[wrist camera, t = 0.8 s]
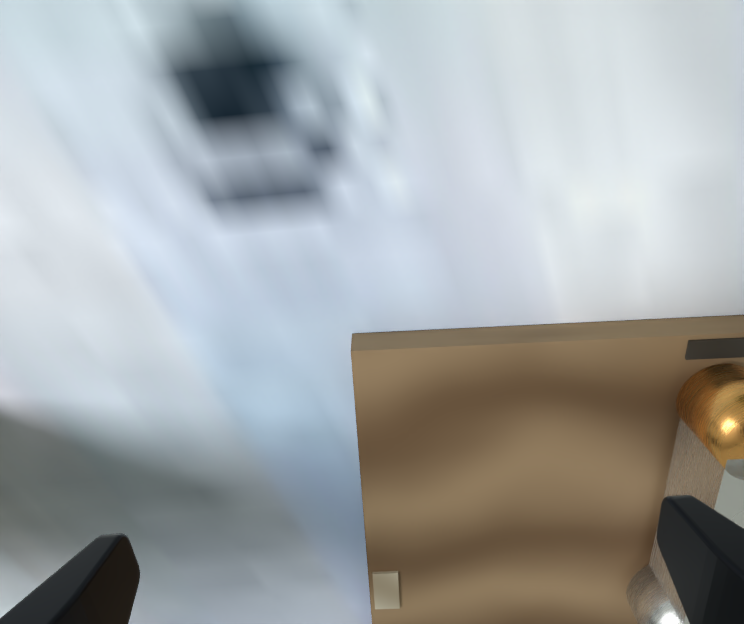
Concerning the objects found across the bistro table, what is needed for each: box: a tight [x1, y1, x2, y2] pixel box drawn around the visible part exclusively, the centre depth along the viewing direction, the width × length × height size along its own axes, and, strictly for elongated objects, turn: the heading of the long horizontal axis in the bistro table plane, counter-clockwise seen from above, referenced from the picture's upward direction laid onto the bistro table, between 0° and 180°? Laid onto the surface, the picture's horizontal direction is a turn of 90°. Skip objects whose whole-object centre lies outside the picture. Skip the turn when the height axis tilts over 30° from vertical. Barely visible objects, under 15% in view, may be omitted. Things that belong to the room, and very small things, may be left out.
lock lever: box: [626, 363, 744, 624], centre depth 22 cm, size 14×4×3 cm, turn 3°
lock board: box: [351, 315, 744, 624], centre depth 26 cm, size 22×22×2 cm
